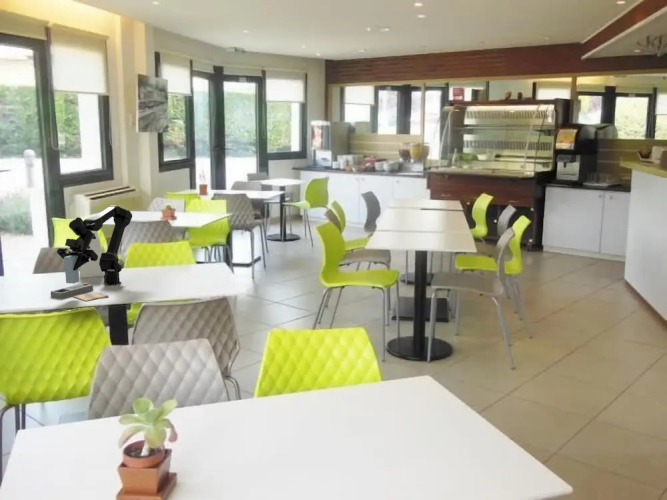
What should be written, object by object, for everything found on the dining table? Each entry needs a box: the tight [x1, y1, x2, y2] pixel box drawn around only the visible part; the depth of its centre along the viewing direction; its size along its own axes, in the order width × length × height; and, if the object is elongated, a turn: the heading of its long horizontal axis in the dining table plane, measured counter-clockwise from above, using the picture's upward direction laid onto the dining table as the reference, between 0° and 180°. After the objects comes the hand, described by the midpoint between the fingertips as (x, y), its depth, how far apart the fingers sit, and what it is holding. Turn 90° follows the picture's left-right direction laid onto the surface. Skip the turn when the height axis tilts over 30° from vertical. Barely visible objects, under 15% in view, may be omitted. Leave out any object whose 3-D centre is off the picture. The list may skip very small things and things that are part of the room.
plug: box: [63, 255, 80, 285], centre depth 290 cm, size 4×4×12 cm
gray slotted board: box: [50, 282, 94, 300], centre depth 298 cm, size 18×7×4 cm, turn 151°
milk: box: [78, 231, 105, 279], centre depth 337 cm, size 12×12×26 cm
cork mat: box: [72, 291, 109, 303], centre depth 292 cm, size 11×11×1 cm
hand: (69, 269), depth 288 cm, fingers closed on plug, 4 cm apart
